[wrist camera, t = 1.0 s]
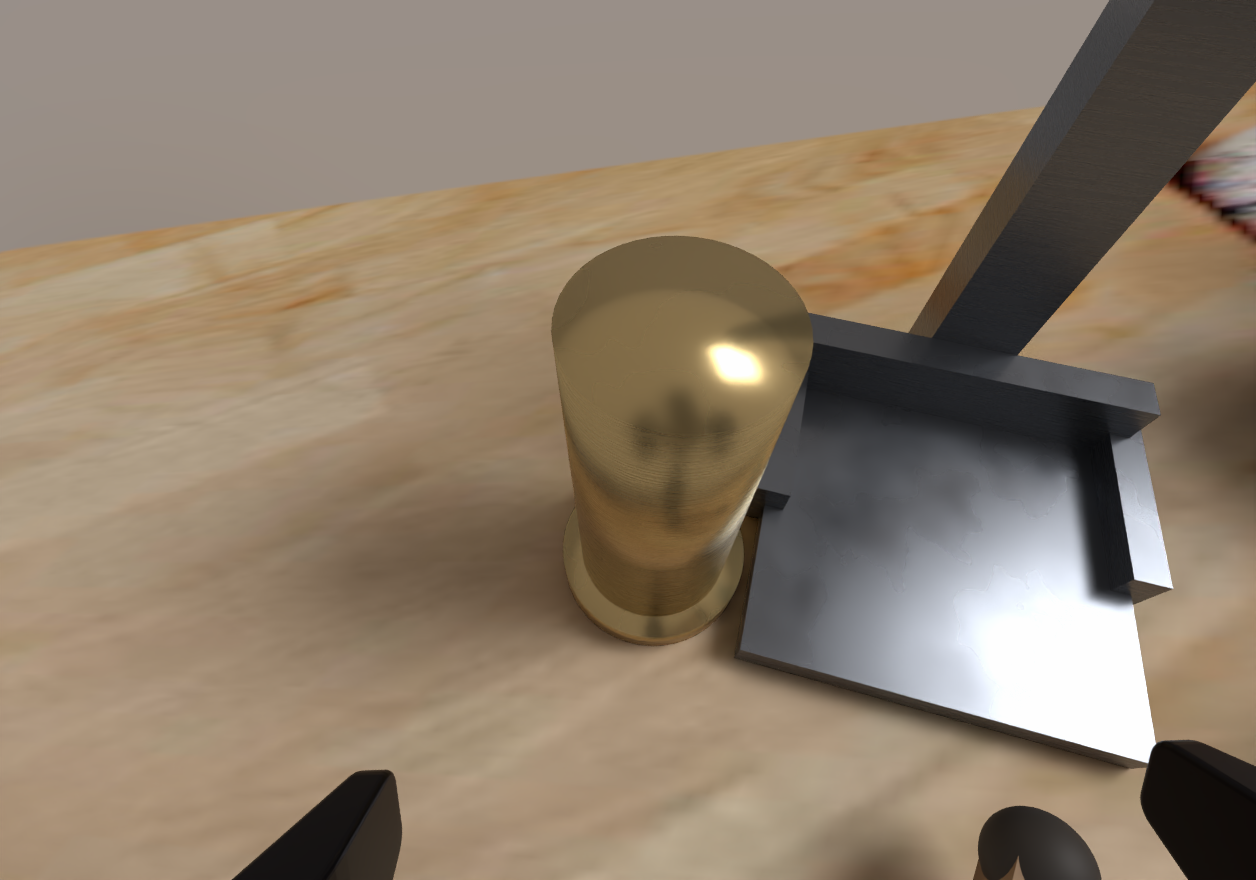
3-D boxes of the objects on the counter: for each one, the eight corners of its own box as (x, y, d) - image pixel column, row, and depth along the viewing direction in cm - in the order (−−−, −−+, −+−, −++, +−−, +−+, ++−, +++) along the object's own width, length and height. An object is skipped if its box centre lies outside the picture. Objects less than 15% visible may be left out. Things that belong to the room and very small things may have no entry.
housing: (684, 683, 21) (759, 537, 10) (530, 582, 23) (445, 362, 12) (767, 532, 24) (896, 289, 13) (625, 454, 26) (630, 180, 14)
